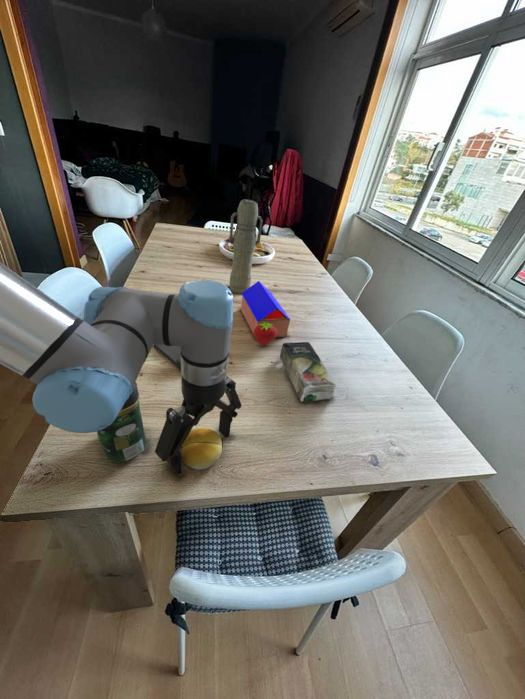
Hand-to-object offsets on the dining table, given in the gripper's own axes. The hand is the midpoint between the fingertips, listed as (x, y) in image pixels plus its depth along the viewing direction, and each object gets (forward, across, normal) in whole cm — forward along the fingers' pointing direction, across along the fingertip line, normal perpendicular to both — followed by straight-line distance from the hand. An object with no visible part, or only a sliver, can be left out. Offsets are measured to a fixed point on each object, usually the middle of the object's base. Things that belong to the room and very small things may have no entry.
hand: (201, 450), depth 61 cm
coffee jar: (0, -11, +12) cm, 16 cm away
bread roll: (0, 0, 0) cm, 0 cm away
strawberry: (0, +39, +17) cm, 43 cm away
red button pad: (0, +19, +29) cm, 35 cm away
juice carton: (0, +37, -1) cm, 37 cm away
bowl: (0, +95, +79) cm, 124 cm away
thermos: (0, +62, +51) cm, 80 cm away
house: (0, +50, +27) cm, 57 cm away
